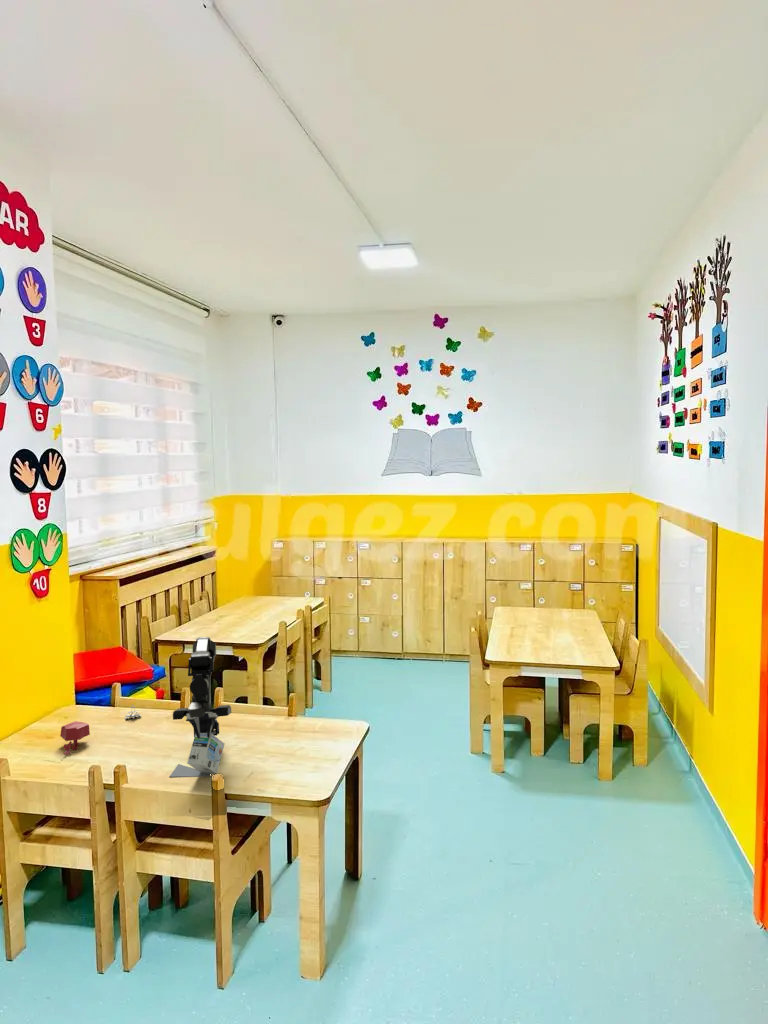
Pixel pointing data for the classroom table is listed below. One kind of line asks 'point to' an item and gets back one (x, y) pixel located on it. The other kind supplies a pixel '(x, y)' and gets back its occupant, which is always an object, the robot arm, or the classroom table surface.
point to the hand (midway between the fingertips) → (203, 738)
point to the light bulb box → (206, 753)
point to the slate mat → (187, 772)
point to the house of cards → (131, 714)
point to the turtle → (74, 734)
